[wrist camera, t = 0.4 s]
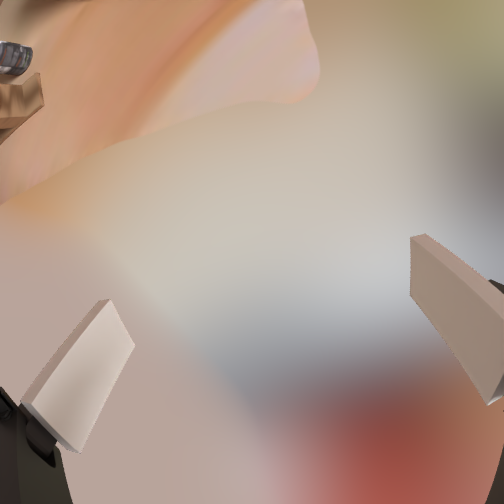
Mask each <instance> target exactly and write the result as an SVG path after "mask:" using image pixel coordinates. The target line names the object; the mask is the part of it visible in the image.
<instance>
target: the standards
mask: <svg viewBox="0 0 504 504" xmlns="http://www.w3.org/2000/svg"><path fill="white" fill-rule="evenodd" d="M43 106H44V100H43V94H42V88H41V81H40V73H35V74H34V75H33V76H32V77H30V78H29V79H28V80H27V81H26V82H25V83H24V84H23V85H10V84H0V144H1V143H2V142H3V141H4V140H5V139H6V138H7V137H9V136H10V135H11V134H12V133H13V132H14V131H15V130H16V129H17V128H18V127H19V126H20V125H22V124H23V123H24V122H25V121H26V120H27V119H28V118H30V117H31V116H32V115H33V114H34V113H36V112H37V111H38V110H39V109H41V108H42V107H43Z"/></svg>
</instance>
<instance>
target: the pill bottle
mask: <svg viewBox="0 0 504 504" xmlns="http://www.w3.org/2000/svg"><path fill="white" fill-rule="evenodd" d="M32 55H33V51H32V48H31V47H29V46H25V45H21V44H16V43H11V42H5V41H0V74H10V75H20V74H22V73H23V72H24V71H25V70H26V69H27V68H28V66H29V64H30V62H31V59H32Z"/></svg>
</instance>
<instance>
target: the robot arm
mask: <svg viewBox="0 0 504 504" xmlns="http://www.w3.org/2000/svg"><path fill="white" fill-rule="evenodd" d="M410 247H411V277H410V278H411V279H410V296H411V297H412V299H413V300H414V301H415V302H416V304H417V305H418V306H419V307H420V309H421V310H422V311H423V313H424V314H425V315H426V316H427V318H428V319H429V320H430V322H431V323H432V324H433V325H434V327H435V328H436V330H437V331H438V332H439V334H440V335H441V337H442V338H443V339H444V341H445V342H446V344H447V345H448V346H449V348H450V349H451V351H452V352H453V354H454V355H455V356H456V358H457V359H458V361H459V362H460V364H461V365H462V367H463V368H464V370H465V371H466V373H467V374H468V376H469V378H470V379H471V381H472V382H473V384H474V385H475V387H476V388H477V390H478V392H479V394H480V395H481V397H482V399H483V400H484V402H485V404H486V405H487V406H488V405H489V404H491V403H492V402H494V401H496V400H498V399H499V398H501V397H503V396H504V285H502V284H500V283H498V282H495V281H493V280H486V279H485V278H484V277H483V276H481V275H480V274H479V273H478V272H477V271H475V270H474V269H473V268H471V267H470V266H469V265H468V264H466V263H465V262H464V261H462V260H461V259H460V258H459V257H457V256H456V255H454V254H453V253H452V252H450V251H449V250H448V249H446V248H445V247H444V246H442V245H441V244H440V243H438V242H436V241H435V240H434V239H432V238H431V237H430V236H428V235H427V234H422V235H418V236H414V237H410ZM134 347H135V345H134V343H133V341H132V339H131V338H130V336H129V334H128V332H127V330H126V328H125V326H124V325H123V323H122V321H121V319H120V317H119V315H118V313H117V311H116V309H115V307H114V305H113V303H112V301H111V299H108V300H102V301H99V302H98V303H97V304H96V305H95V306H94V307H93V308H92V309H91V311H90V312H89V313H88V314H87V315H86V316H85V318H84V319H83V320H82V321H81V322H80V323H79V324H78V326H77V327H76V328H75V329H74V330H73V332H72V333H71V334H70V335H69V337H68V338H67V339H66V340H65V341H64V343H63V344H62V345H61V346H60V348H59V349H58V350H57V352H56V353H55V354H54V355H53V357H52V358H51V359H50V360H49V362H48V363H47V364H46V366H45V367H44V368H43V370H42V371H41V372H40V374H39V375H38V376H37V378H36V379H35V380H34V382H33V383H32V385H31V386H30V387H29V389H28V390H27V391H26V393H25V395H24V396H23V397H22V399H21V400H20V402H21V404H20V405H19V406H17V405H16V404H15V403H14V402H13V400H12V399H11V398H10V397H9V395H8V394H7V393H6V392H5V390H4V389H3V388H2V387H0V504H73V502H72V499H71V496H70V492H69V488H68V484H67V481H66V477H65V472H64V468H63V464H62V458H61V453H60V450H59V449H58V448H57V447H56V446H55V444H56V442H57V441H58V442H59V443H60V444H61V445H63V446H64V447H65V448H66V449H67V450H69V451H72V452H76V453H79V454H81V451H82V449H83V447H84V445H85V443H86V441H87V438H88V436H89V434H90V432H91V430H92V428H93V426H94V424H95V422H96V420H97V417H98V416H99V413H100V412H101V410H102V408H103V405H104V404H105V401H106V400H107V397H108V395H109V394H110V392H111V390H112V388H113V386H114V384H115V382H116V380H117V378H118V376H119V374H120V373H121V371H122V369H123V367H124V365H125V363H126V361H127V359H128V357H129V356H130V354H131V352H132V350H133V349H134ZM485 504H504V447H503V450H502V455H501V458H500V462H499V465H498V468H497V472H496V475H495V478H494V481H493V484H492V487H491V490H490V492H489V495H488V498H487V501H486V503H485Z"/></svg>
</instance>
